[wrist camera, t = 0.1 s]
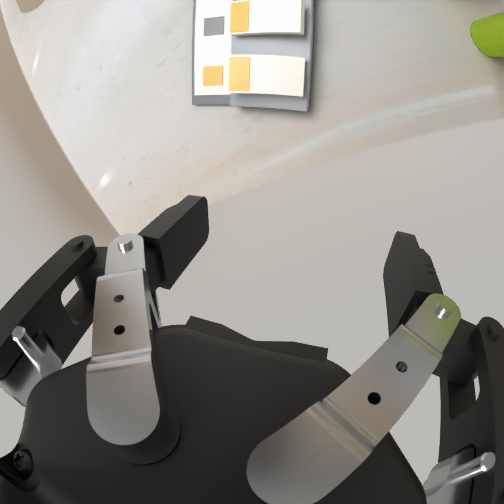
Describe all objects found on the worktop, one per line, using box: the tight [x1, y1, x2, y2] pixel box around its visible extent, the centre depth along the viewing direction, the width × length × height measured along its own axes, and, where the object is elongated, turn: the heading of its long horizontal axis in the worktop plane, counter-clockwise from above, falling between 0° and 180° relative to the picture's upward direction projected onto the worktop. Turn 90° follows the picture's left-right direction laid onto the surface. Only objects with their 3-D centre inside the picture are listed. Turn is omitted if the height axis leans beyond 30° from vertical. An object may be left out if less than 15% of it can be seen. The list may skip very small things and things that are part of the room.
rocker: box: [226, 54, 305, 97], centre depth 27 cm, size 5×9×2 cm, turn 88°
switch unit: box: [192, 0, 314, 112], centre depth 26 cm, size 25×17×4 cm
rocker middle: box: [228, 0, 305, 36], centre depth 23 cm, size 5×9×2 cm, turn 89°
